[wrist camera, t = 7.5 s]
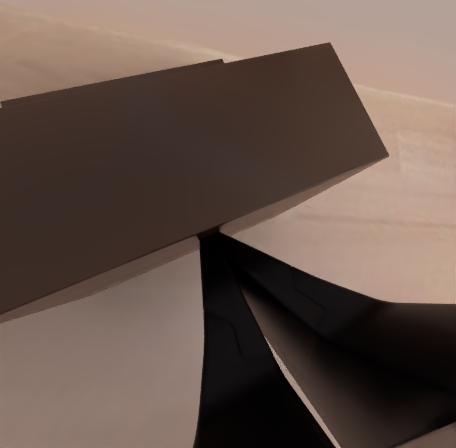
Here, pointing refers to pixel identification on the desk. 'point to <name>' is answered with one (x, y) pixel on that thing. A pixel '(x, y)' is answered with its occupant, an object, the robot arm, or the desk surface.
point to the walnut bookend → (166, 166)
